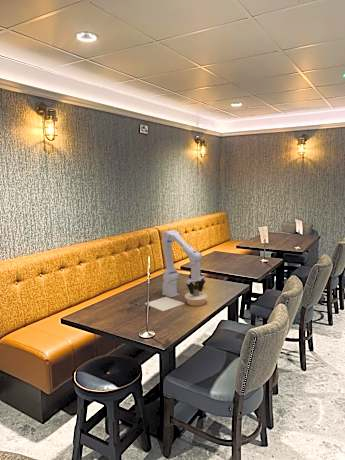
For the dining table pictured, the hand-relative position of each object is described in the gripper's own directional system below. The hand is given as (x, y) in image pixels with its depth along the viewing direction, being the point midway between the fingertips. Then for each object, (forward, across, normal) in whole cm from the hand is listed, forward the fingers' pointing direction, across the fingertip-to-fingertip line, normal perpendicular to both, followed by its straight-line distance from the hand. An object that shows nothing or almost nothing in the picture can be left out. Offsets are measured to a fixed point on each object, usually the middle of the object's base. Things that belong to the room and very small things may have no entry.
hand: (195, 292), depth 228 cm
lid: (+2, 0, 0) cm, 2 cm away
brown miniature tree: (+7, +22, +21) cm, 31 cm away
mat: (+7, -15, +13) cm, 21 cm away
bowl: (+7, 0, 0) cm, 7 cm away
